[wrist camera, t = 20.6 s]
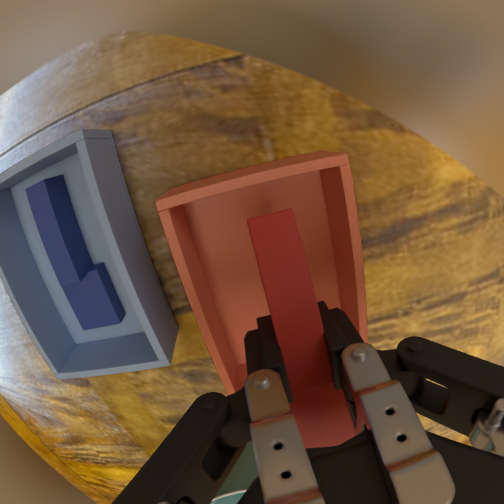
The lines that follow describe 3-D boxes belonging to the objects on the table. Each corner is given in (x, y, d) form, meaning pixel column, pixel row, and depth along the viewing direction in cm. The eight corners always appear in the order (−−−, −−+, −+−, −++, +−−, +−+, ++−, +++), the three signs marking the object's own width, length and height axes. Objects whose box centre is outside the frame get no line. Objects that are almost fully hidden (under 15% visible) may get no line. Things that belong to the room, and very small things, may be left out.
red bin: (169, 188, 19) (154, 200, 15) (322, 150, 19) (347, 153, 15) (231, 367, 24) (233, 406, 20) (348, 336, 24) (368, 370, 20)
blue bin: (7, 182, 17) (-30, 193, 13) (111, 130, 17) (81, 128, 13) (76, 346, 23) (56, 379, 18) (178, 328, 23) (170, 366, 18)
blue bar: (36, 187, 17) (16, 193, 15) (73, 169, 17) (54, 174, 15) (89, 321, 21) (77, 340, 19) (126, 313, 21) (116, 333, 19)
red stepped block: (229, 235, 14) (222, 224, 11) (305, 216, 14) (314, 202, 11) (286, 451, 13) (290, 479, 10) (354, 431, 13) (369, 455, 10)
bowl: (344, 458, 32) (360, 507, 24) (234, 488, 33) (238, 536, 25) (317, 395, 26) (340, 463, 19) (174, 436, 27) (168, 500, 20)
